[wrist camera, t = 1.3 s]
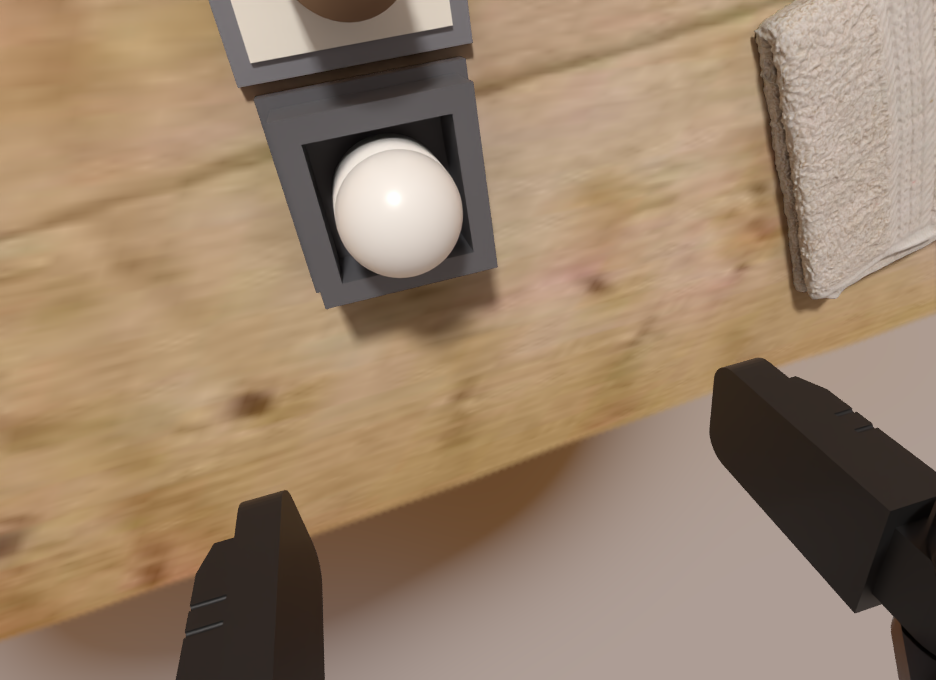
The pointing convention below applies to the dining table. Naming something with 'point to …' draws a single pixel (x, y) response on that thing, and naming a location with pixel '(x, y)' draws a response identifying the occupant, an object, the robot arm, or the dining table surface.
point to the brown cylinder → (347, 9)
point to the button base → (355, 118)
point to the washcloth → (852, 133)
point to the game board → (330, 36)
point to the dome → (395, 206)
